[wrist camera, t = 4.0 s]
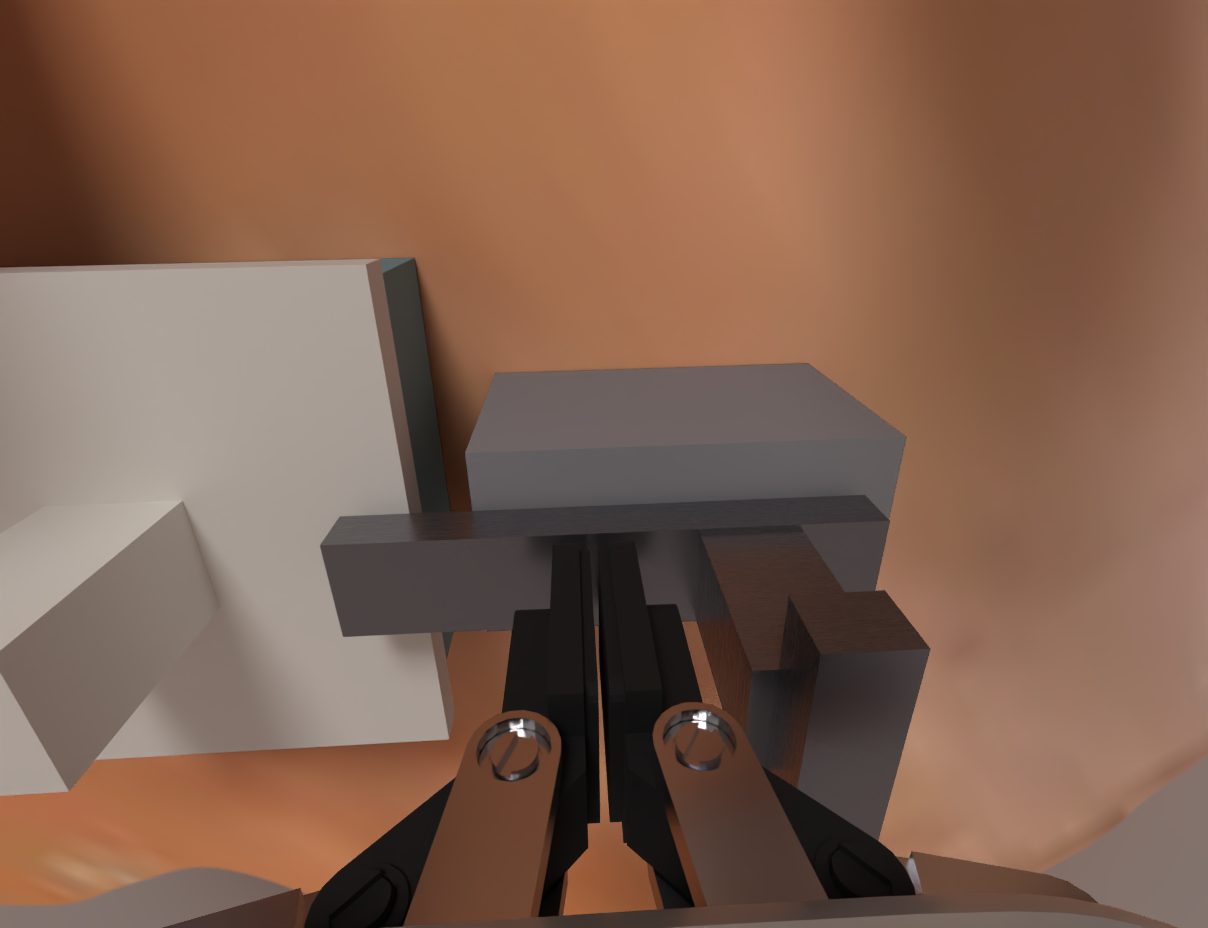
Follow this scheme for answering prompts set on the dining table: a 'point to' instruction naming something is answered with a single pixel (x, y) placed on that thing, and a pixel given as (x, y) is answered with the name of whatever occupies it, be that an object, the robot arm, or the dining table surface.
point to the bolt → (687, 613)
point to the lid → (196, 514)
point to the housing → (642, 431)
